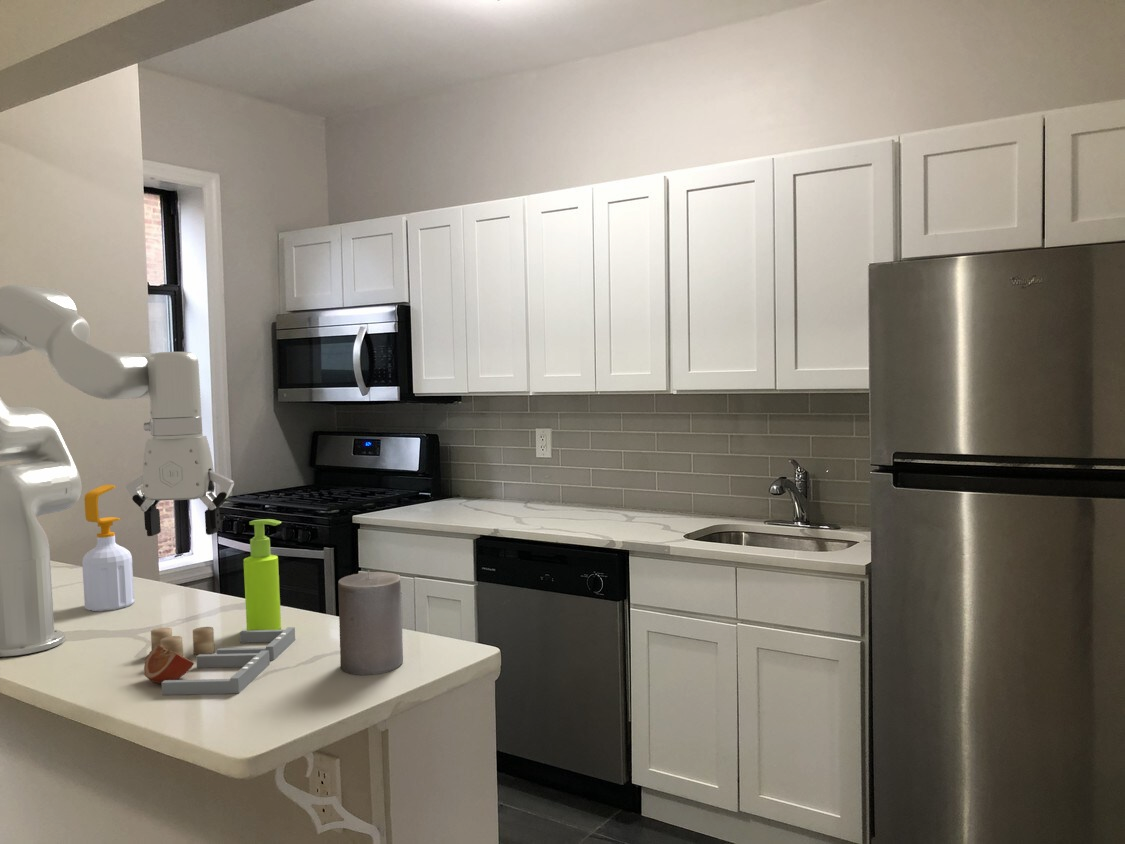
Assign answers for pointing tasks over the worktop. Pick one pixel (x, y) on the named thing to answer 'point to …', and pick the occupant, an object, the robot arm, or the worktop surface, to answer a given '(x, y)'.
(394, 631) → the pillar candle
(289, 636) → the corral
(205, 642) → the cork
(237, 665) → the corral
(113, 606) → the soap bottle
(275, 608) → the soap dispenser
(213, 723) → the worktop surface
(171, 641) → the cork
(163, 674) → the fruit slice
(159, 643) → the cork
